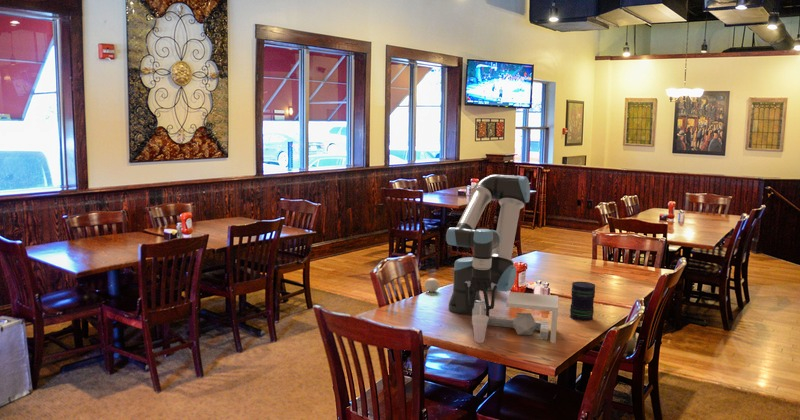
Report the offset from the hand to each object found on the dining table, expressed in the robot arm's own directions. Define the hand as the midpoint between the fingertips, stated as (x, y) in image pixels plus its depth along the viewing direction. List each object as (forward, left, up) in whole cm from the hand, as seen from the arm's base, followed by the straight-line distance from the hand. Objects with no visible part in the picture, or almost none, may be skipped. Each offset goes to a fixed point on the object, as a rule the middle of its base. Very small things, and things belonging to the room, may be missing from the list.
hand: (478, 324), depth 277 cm
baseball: (-29, +51, -2) cm, 58 cm away
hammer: (+13, +2, -2) cm, 13 cm away
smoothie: (+2, -15, -2) cm, 16 cm away
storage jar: (+41, +30, -2) cm, 51 cm away
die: (+18, 0, -2) cm, 18 cm away
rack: (+21, +1, -2) cm, 21 cm away
